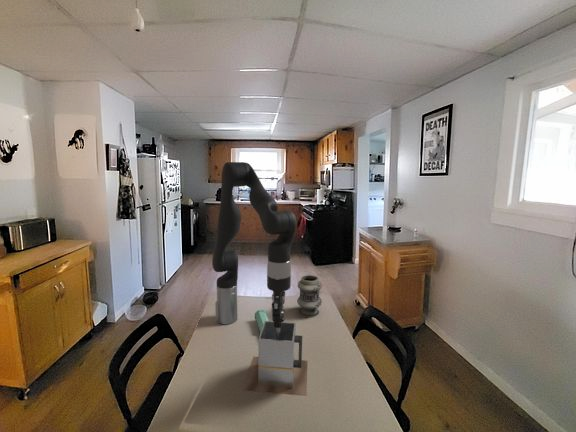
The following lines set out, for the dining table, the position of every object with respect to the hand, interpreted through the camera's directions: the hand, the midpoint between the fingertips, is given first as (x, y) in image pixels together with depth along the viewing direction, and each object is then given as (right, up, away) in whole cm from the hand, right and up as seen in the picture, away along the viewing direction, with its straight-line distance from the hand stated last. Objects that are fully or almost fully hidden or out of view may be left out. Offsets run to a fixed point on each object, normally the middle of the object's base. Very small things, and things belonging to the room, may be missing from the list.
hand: (278, 323), depth 90 cm
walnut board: (0, -20, +3) cm, 20 cm away
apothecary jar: (+14, -13, +48) cm, 51 cm away
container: (-6, -16, +27) cm, 32 cm away
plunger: (0, -12, +2) cm, 13 cm away
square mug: (+1, -19, +3) cm, 19 cm away
